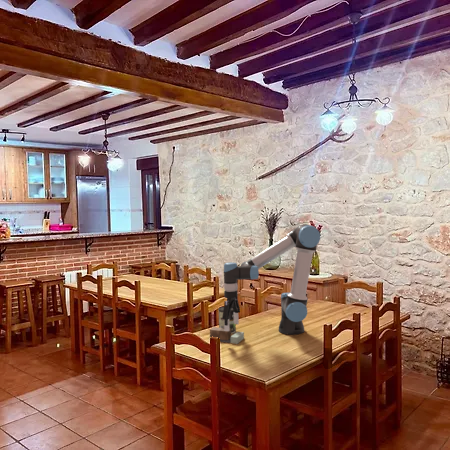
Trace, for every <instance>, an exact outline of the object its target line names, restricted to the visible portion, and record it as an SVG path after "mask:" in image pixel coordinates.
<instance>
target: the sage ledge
mask: <svg viewBox="0 0 450 450" xmlns="http://www.w3.org/2000/svg"><path fill="white" fill-rule="evenodd" d="M243 339H245V332H244V331H236V332H235V333H233V334H231V342H230V344H235V345H236V344H237V345H238V344H239V343H241V341H243Z"/></svg>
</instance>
